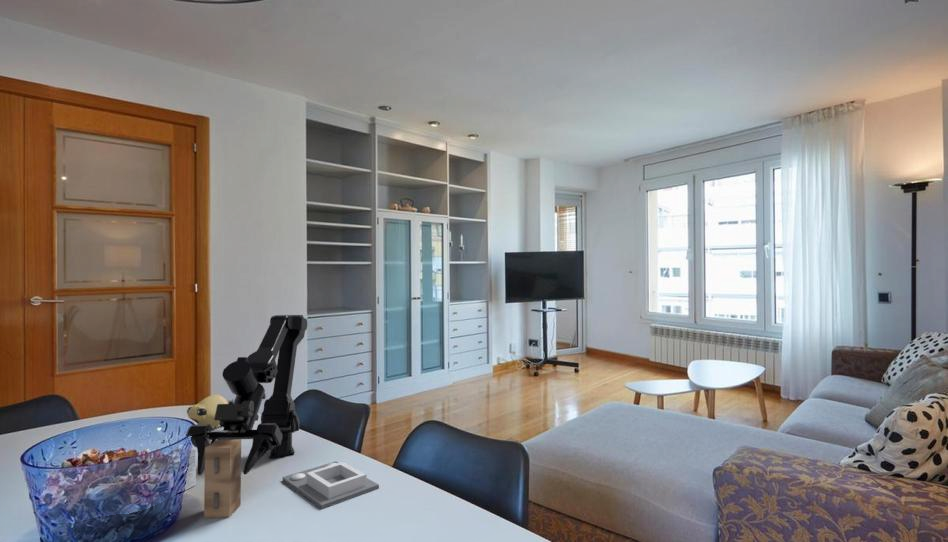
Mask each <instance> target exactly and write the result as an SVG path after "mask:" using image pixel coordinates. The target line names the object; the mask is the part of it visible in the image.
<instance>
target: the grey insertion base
mask: <svg viewBox="0 0 948 542" xmlns="http://www.w3.org/2000/svg"><path fill="white" fill-rule="evenodd" d="M282 481H283V482H284V483H285V484H287V485H288V486H289V487H290V488H292V489H294V490H295V491H296V492H298V493H299V494H300V495H301V496H303V497H304V498H306V499H307V500H309V501H310V502H312V503H313V504H314V505H316V506H317V507H318V508H319V509H321V510H322V509H326V508H329V507H331V506H332V507H333V506H334V505H337V504H340V503H342V502H344V501H347V500H350V499H353V498H356V497H358V496H361V495H364V494H367V493H369V492H372V491H375V490H377V489H379V488H380V485H379V483H377V482H375V481H373V480H371V479H369V478H367V474H365V472H362V471H360V470H358V469H356V468H354V467H352V466H350V465H349V464H347V463H345V462H343V461H342V462H338V461H333V462H332V461H331V462H330V463H329V462H328V463H326V464H322V465H319V466H315V467H313V468H312V467H311V468H308V469H305V470H302V471H299V472H295V473H292V474H288V475H286V476H283V477H282Z"/></svg>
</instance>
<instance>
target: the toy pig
mask: <svg viewBox="0 0 948 542" xmlns="http://www.w3.org/2000/svg"><path fill="white" fill-rule="evenodd" d="M218 404H230V403H229V401H228V400H227V399H226V398H225V397H224V396H222V395H220V394H211V395H208V396H207V397H204V398H203V399H202V400H201V401H199V402H198V403H197V404H192V406H189V407H187V409H186V413H187V417H188V419H190V420H192V421H193V422H195V423H196V425H197V424H210V426H211V427H212V428H213V430H215V428H216V426H220V425H219V423H220V421H219V420H214V417H215V413H216V408H217V405H218Z"/></svg>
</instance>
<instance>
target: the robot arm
mask: <svg viewBox="0 0 948 542" xmlns="http://www.w3.org/2000/svg"><path fill="white" fill-rule="evenodd" d="M307 329H308V319H307V318H305V317H304V315H303V314H280V315H279V314H278V315H277V314H276V315H272V316H271V317H270V320H269V325H268V327H267V330H266V332H265V334H264V336H263V338H262V339H261V342H260V344H259V345H258V348H257V350H256V351H254V352H252V353H250V354H249V355H248V356H241V357H237V359H236V361H233V362H231V363H229V364H228V365H227V366H225V368H223V371H222V378H223V380H224V381H225V383H226V384H227V387H228V388H229V390H230V392H231V393H232V394H233V395H235V397H234V400H233V403H229V404H218V405H217V408H216V413H215V417H214V420H219V421H220V423H219V425H218V426H220V427H221V428H223V429H219V430H215V429H213V428H212V427H211V426H210V424H197V423H196V424H192V425H191V426H189V428H188V429H187V432H186V434H185V437H186V436H189V435H190V436H192V437H191V441H192V443H191V444H192V446H193V447H194V448H196V450H197V468H196V472H197V473H196V474H197V475H198V476H202V475H203V472H205V448H206V447H207V446H209V445H210V444H212V443H213V442H215V441H216V440H229V439H241V440H252V443H251V444H252V446H251V448H250V451H249V453H248V456H247V459H246V460H245V464H244V468H243V471H242V472H243V474H244V475H248V474H249V472H250V471H251V470H252V468H253V467H254V466H255V465H256V463H258V462H259V460H261V458H263V456H264V455H265V454H267V455H268V459H272V458H273V459H274V458H279V457H285V455H287V456H291V455H290V454H293V455H295V454H294V453H295V452H296V451H295V450H294V447H293V433H294V434H295V432H298V431H300V424H301V423H300V422H301V421H300V418H299V416H298V413H297V411H296V404H295V402H294V400H293V398H292V395H291V394H292V389H293V380H294V372H295V362H296V356H297V349H298V346H299V344H300V343H301V342H302V340H303V339H304V337H305V332H306V331H307ZM276 358H277V362H276ZM273 380H274V384H273V391H272V394H271V396H270V397H269V398H268V399H266V397H267V396H266V393H265V392H266V389H265V387H264V386H263V384H271V383H272V382H273ZM263 400H265V401H264V403H263V411H262V413H261V415H260V416H259V415H258V413H259V410H260V407H261V404H262V401H263ZM259 417H260V423H259V424H257V427H256V429H253V428H254V425H255V422H256V421H258V420H259Z"/></svg>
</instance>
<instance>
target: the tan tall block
mask: <svg viewBox="0 0 948 542" xmlns="http://www.w3.org/2000/svg"><path fill="white" fill-rule="evenodd" d="M241 481H242V439H229V440H216V441H215V442H213V443H212V444H210V445H209V446H207V447H206V448H205V470H204V494H203V495H204V503H203V505H204V506H203V509H204V510H203V518H204V519H212V518H213V519H215V518H218V519H219V518H230V517H231V516H232V515H233V514H234V513H235V512H236V511H237V510H238V509H239V508H240V507H241V504H242V503H241V500H242V499H241V498H242V492H241V491H242V482H241Z"/></svg>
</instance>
